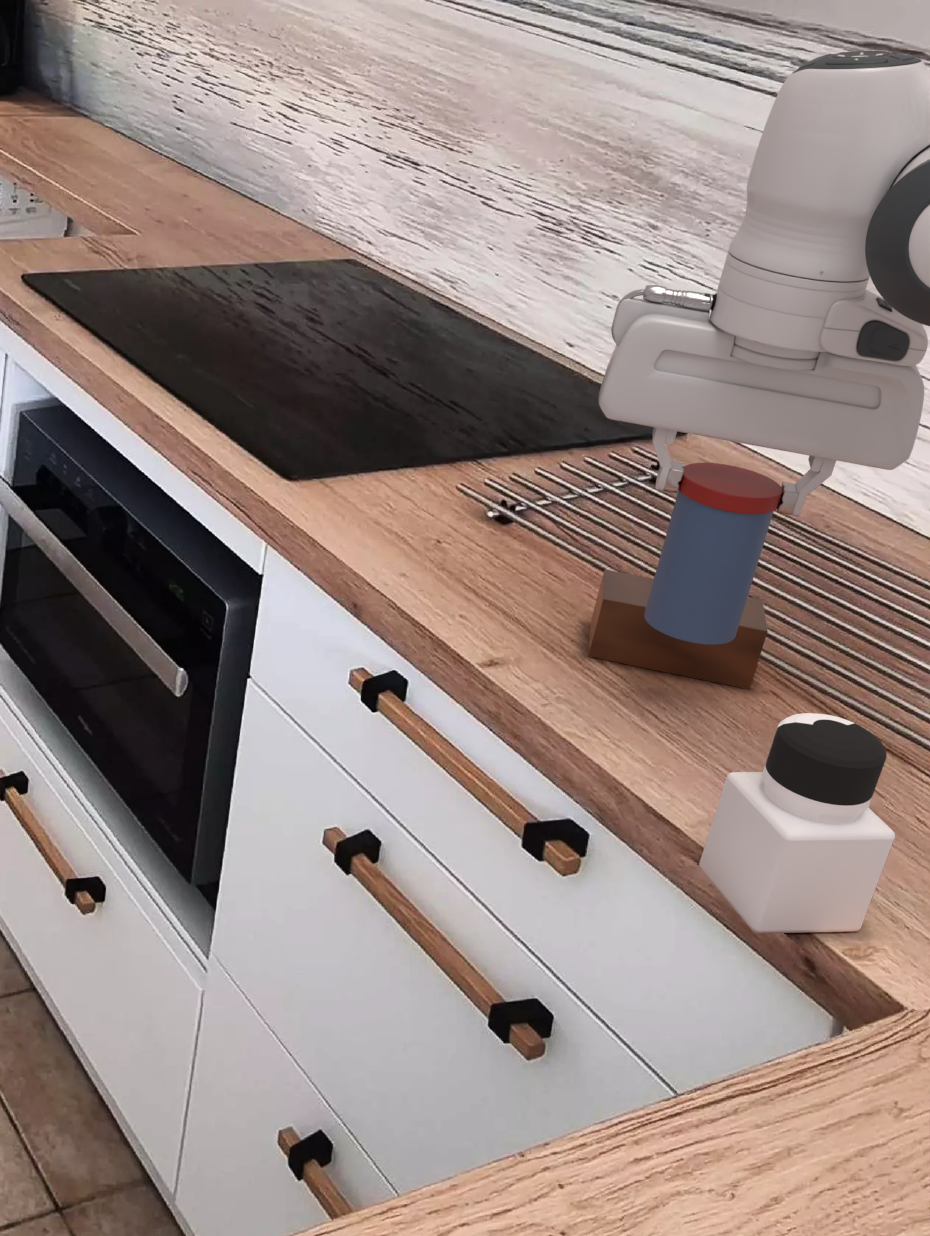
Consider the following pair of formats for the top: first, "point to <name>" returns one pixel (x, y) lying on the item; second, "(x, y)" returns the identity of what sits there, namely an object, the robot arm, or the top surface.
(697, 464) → the container
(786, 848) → the medicine bottle
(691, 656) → the block
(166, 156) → the top surface
